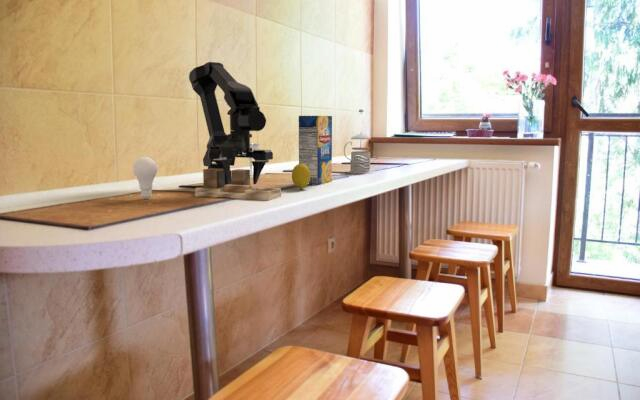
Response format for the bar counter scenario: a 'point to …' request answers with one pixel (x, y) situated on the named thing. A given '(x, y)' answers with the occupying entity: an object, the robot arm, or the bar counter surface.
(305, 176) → the lemon
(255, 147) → the wineglass
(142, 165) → the lightbulb
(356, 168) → the french press
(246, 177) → the beige cardboard cube
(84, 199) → the bar counter surface
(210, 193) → the rail
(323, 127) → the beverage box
